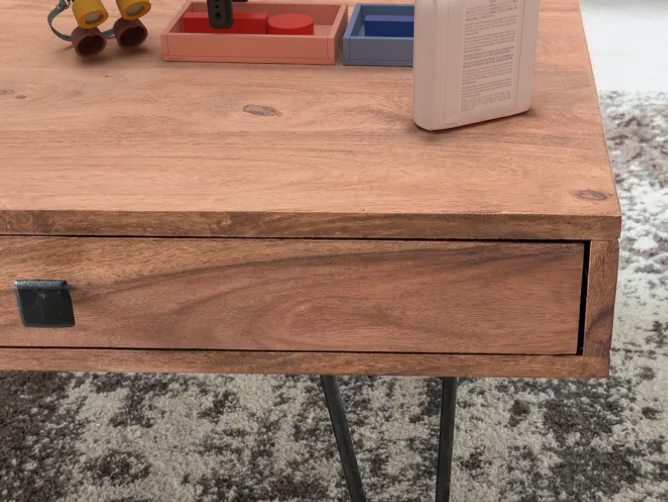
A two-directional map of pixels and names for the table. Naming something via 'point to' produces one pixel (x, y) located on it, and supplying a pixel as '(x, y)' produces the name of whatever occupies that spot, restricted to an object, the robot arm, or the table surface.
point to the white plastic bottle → (472, 60)
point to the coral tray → (260, 36)
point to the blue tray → (377, 38)
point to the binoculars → (93, 14)
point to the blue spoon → (389, 26)
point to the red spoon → (252, 24)
